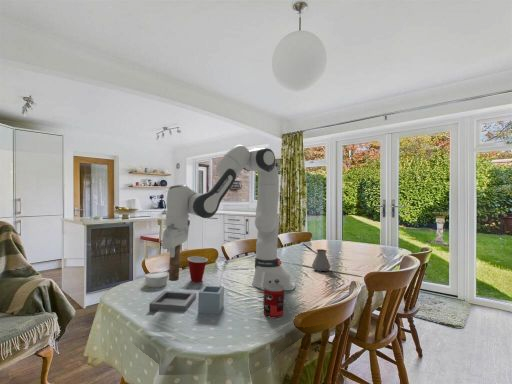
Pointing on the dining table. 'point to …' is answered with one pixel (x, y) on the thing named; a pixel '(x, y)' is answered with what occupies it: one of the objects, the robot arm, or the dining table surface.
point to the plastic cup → (197, 268)
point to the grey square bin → (211, 299)
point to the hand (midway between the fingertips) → (175, 255)
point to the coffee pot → (320, 260)
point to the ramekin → (156, 279)
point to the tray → (172, 301)
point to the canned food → (273, 300)
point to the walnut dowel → (174, 265)
